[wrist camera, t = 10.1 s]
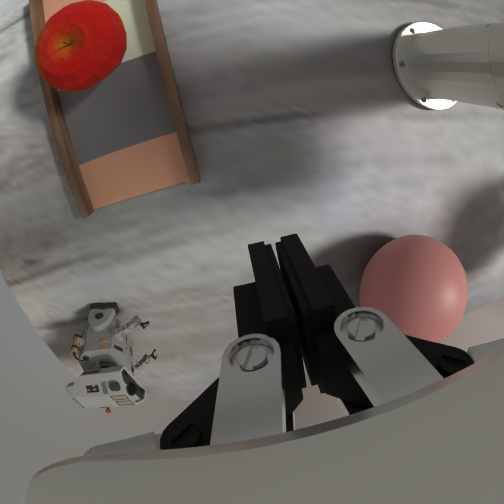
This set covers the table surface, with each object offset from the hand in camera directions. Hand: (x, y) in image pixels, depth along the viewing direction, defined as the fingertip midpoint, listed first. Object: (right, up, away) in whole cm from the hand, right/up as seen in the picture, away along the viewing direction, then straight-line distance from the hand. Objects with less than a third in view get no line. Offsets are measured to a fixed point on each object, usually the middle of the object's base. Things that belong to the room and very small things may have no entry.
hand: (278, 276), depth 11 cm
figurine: (-20, -10, +33) cm, 40 cm away
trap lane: (-17, +21, +18) cm, 32 cm away
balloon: (+20, -3, +35) cm, 40 cm away
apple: (-18, +24, +16) cm, 34 cm away
